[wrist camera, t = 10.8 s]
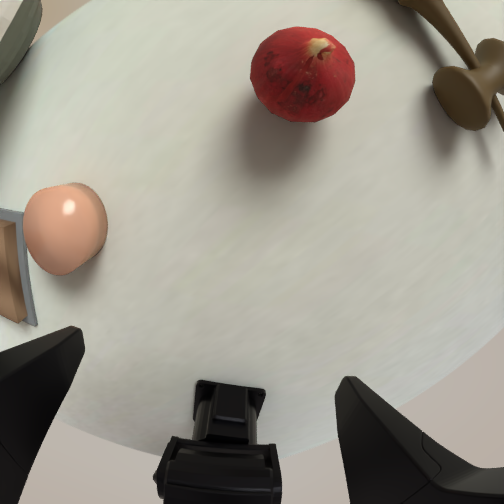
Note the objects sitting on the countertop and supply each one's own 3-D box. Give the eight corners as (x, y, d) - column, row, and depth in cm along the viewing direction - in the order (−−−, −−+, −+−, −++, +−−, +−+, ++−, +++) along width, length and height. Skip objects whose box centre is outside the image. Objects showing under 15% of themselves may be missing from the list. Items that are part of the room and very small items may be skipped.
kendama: (398, -36, 12) (512, 126, 16) (332, -16, 14) (468, 170, 18) (421, -64, 6) (552, 127, 11) (349, -55, 8) (514, 177, 13)
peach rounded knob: (106, 266, 20) (85, 283, 17) (49, 252, 20) (25, 265, 17) (110, 186, 19) (86, 192, 15) (49, 179, 18) (23, 185, 15)
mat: (37, 324, 23) (35, 326, 22) (-9, 302, 22) (-12, 303, 22) (24, 212, 19) (21, 214, 18) (-22, 204, 18) (-25, 205, 18)
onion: (316, 143, 18) (358, 131, 10) (237, 109, 17) (228, 74, 10) (344, 75, 16) (395, 34, 9) (269, 42, 15) (280, -19, 8)
